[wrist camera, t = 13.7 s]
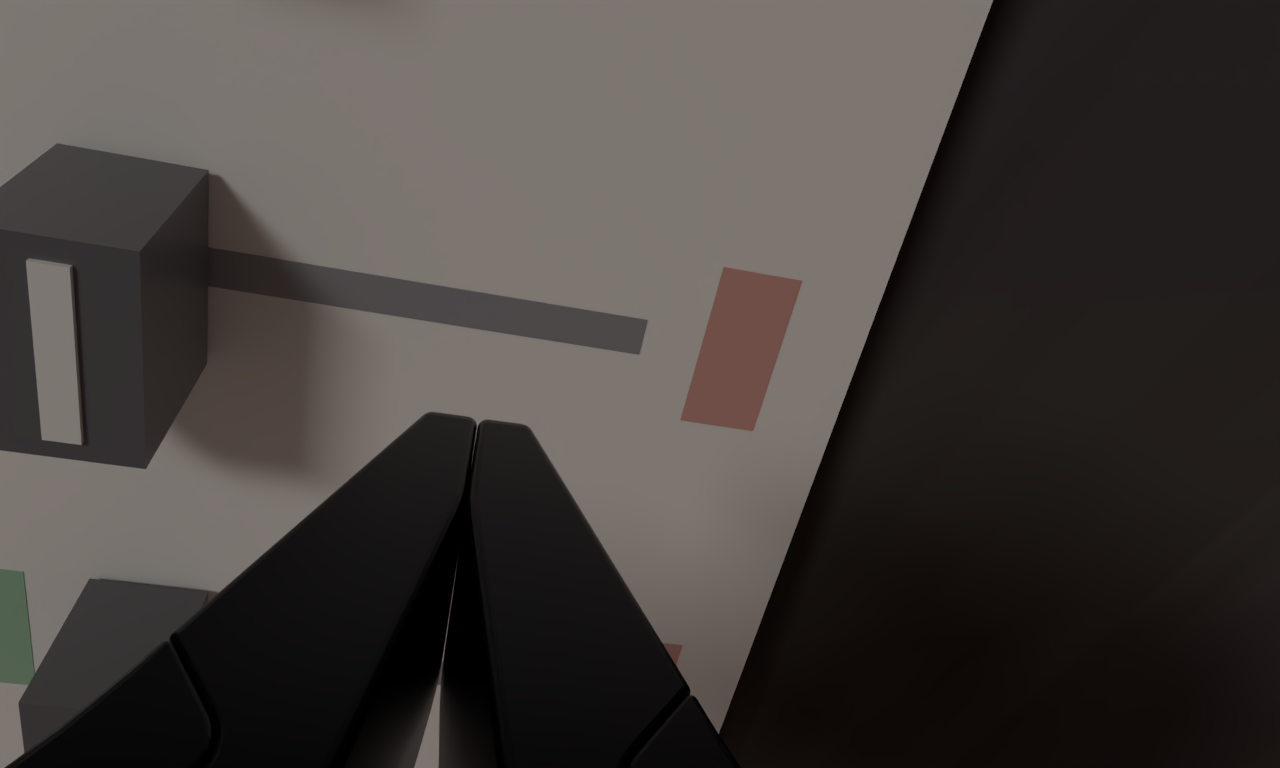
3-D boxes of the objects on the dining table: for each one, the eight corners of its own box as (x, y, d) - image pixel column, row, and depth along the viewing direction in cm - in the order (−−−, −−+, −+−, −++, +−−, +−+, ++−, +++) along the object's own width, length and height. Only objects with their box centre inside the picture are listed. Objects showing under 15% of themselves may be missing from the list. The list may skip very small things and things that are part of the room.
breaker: (207, 592, 23) (154, 720, 20) (206, 713, 25) (157, 847, 22) (89, 578, 23) (15, 707, 20) (97, 703, 25) (32, 837, 22)
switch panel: (1151, -539, 15) (1205, -566, 14) (679, 780, 30) (684, 826, 29) (-388, -1052, 12) (-504, -1151, 11) (-67, 713, 27) (-98, 762, 26)
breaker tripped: (208, 169, 18) (136, 254, 15) (207, 363, 20) (143, 472, 17) (57, 143, 18) (-48, 223, 15) (70, 343, 20) (-20, 452, 17)
